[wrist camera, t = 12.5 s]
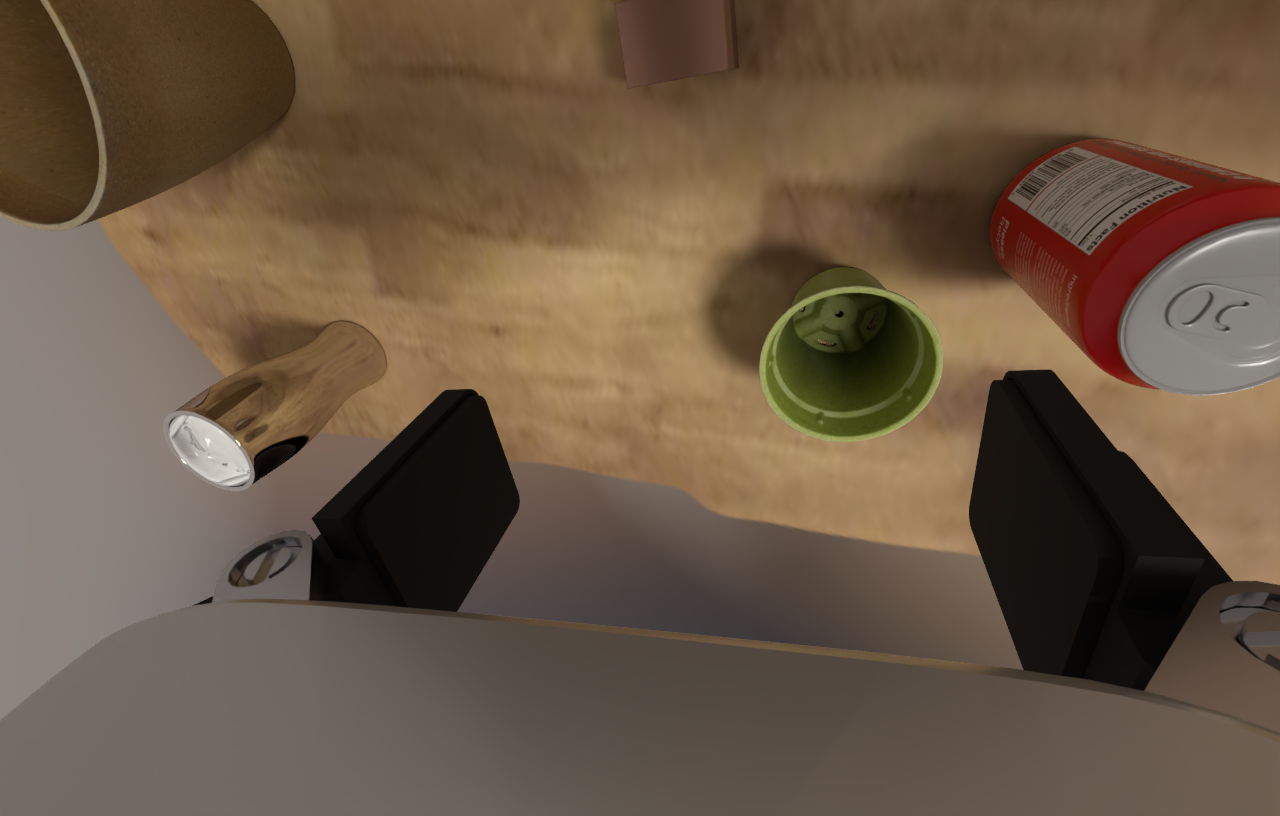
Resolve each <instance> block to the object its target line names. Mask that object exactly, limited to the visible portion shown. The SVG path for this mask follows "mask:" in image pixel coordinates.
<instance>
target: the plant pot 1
mask: <svg viewBox="0 0 1280 816" xmlns="http://www.w3.org/2000/svg"><path fill="white" fill-rule="evenodd" d="M293 94H294V70H293V65H292V61H291V58H290V55H289V52H288V50H287V47H286V45H285V43H284V41H283V39H282V37H281V35H280V33H279V31H278V30H277V28H276V27H275V25H274V24H273V23H272V21H271V20H270V19H269V17H268V16H267V15H266V14H265V13H264V12H263V11H262V10H261V9H260V8H259V7H258V6H256V5H255V4H254V3H253V2H251V1H250V0H0V216H1V217H3V218H5V219H7V220H9V221H12V222H14V223H17V224H19V225H23V226H26V227H29V228H33V229H38V230H44V231H63V230H67V229H71V228H75V227H77V226H80V225H83V224H85V223H88V222H91V221H93V220H96V219H99V218H101V217H104V216H107V215H109V214H112V213H114V212H117V211H119V210H122V209H124V208H127V207H129V206H132V205H134V204H136V203H139V202H141V201H143V200H146V199H148V198H151V197H153V196H155V195H157V194H159V193H161V192H163V191H166V190H168V189H170V188H172V187H174V186H176V185H178V184H180V183H182V182H184V181H186V180H188V179H190V178H192V177H194V176H196V175H198V174H200V173H201V172H203V171H205V170H207V169H208V168H210V167H212V166H214V165H216V164H217V163H219V162H220V161H222V160H224V159H225V158H227V157H229V156H230V155H232V154H233V153H235V152H236V151H238V150H239V149H241V148H242V147H244V146H245V145H247V144H248V143H249V142H251V141H252V140H253V139H255V138H256V137H257V136H259V135H260V134H261V133H263V132H264V131H265V130H266V129H267V128H269V127H270V126H271V125H272V124H273V123H274V122H276V121H277V120H278V119H279V118H280V117H281V116H282V115H283V114H284V113H285V112H286V111H287V110H288V108H289V106H290V104H291V101H292V98H293Z"/></svg>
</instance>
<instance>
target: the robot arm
mask: <svg viewBox="0 0 1280 816" xmlns="http://www.w3.org/2000/svg"><path fill="white" fill-rule="evenodd" d="M519 502H520V500H519V494H518V491H517V488H516V485H515V482H514V479H513V476H512V473H511V471H510V468H509V465H508V462H507V459H506V456H505V454H504V451H503V448H502V445H501V442H500V439H499V437H498V434H497V431H496V428H495V425H494V422H493V419H492V417H491V414H490V411H489V408H488V405H487V403H486V400H485V399H484V398H483V397H482V396H479V395H478V393H477V392H476V391H474V390H472V389H460V390H445V391H444V392H442V393H441V394H440V395H439V396H438V397H437V398H436V399H435V400H434V401H433V402H432V403H431V404H430V405H429V406H428V407H427V408H426V409H425V410H424V411H423V412H422V413H420V414H419V415H418V416H417V417H416V418H415V419H414V420H413V421H412V422H411V423H410V424H409V425H408V426H407V427H406V428H405V429H404V430H403V431H402V432H401V433H400V434H399V435H398V436H397V437H396V438H395V439H394V440H392V441H391V442H390V443H389V445H387V446H386V447H385V448H384V449H383V450H382V451H381V452H380V453H379V454H378V455H377V456H376V457H375V458H374V459H373V460H372V461H371V462H370V463H369V464H368V465H367V466H365V467H364V468H363V469H362V470H361V471H360V472H359V473H358V474H357V475H356V476H355V477H354V478H353V479H352V480H351V481H350V482H349V483H348V484H347V485H346V486H345V487H344V488H343V489H342V490H341V491H340V492H338V494H336V495H335V496H334V498H332V499H331V500H330V501H329V502H328V503H327V504H326V505H325V506H324V507H323V508H322V509H321V510H320V511H319V512H318V513H317V514H316V515H315V516H314V517H313V518H312V520H313V521H314V523H315V524H316V526H317V528H318V529H319V531H320V533H321V534H320V535H319V537H317V538H316V539H315V540H313V539H312V537H311V535H309V534H307V533H306V532H305V531H298V530H292V531H284V532H281V533H278V534H274V535H272V536H269V537H267V538H264V539H262V540H260V541H258V542H256V543H254V544H253V545H251V546H250V547H248V548H246V549H245V550H243V551H242V552H241V553H239V554H238V555H237V556H236V557H235V558H234V559H232V560H231V561H230V562H229V564H228V565H227V566H226V567H225V568H224V569H223V570H222V573H221V575H220V577H219V579H218V581H217V585H216V589H215V592H214V596H213V597H210V598H208V599H206V600H204V601H202V602H200V603H197V604H195V605H193V606H191V607H186V608H183V609H179V610H175V611H171V612H167V613H163V614H160V615H157V616H154V617H151V618H148V619H145V620H143V621H140V622H138V623H135V624H133V625H130V626H128V627H125V628H123V629H121V630H119V631H117V632H115V633H113V634H111V635H110V636H108V637H106V638H105V639H103V640H101V641H100V642H99V643H97V644H96V645H95V646H93V647H92V648H90V649H89V650H87V651H86V652H85V653H83V654H82V655H81V656H80V657H78V658H77V659H76V660H74V661H73V662H72V663H71V664H69V665H68V666H67V667H66V668H64V669H63V670H62V671H60V672H59V673H58V674H56V675H55V676H54V677H53V678H51V679H50V680H49V681H47V682H46V683H45V684H44V685H42V686H41V687H40V688H39V689H37V690H36V691H35V692H34V693H32V694H31V695H30V696H29V697H28V698H26V699H25V700H24V701H23V702H21V703H20V704H19V705H18V706H17V707H15V708H14V709H13V710H12V711H10V712H9V713H8V714H7V715H6V716H4V717H3V718H2V719H1V720H0V816H1280V585H1276V584H1270V583H1265V582H1259V581H1233V580H1232V579H1231V578H1230V577H1229V575H1228V574H1227V573H1226V572H1225V571H1224V569H1223V568H1222V567H1221V566H1220V565H1219V563H1218V562H1217V561H1216V560H1215V559H1214V557H1213V556H1212V555H1211V554H1210V553H1209V551H1208V550H1207V549H1206V548H1205V546H1204V545H1203V544H1202V543H1201V542H1200V540H1199V539H1198V538H1197V537H1196V536H1195V534H1194V533H1193V532H1192V531H1191V530H1190V528H1189V527H1188V526H1187V525H1186V524H1185V522H1184V521H1183V520H1182V519H1181V518H1180V516H1179V515H1178V514H1177V513H1176V512H1175V510H1174V509H1173V508H1172V507H1171V505H1170V504H1169V503H1168V502H1167V501H1166V499H1165V498H1164V497H1163V496H1162V495H1161V493H1160V492H1159V491H1158V490H1157V489H1156V487H1155V486H1154V485H1153V484H1152V483H1151V481H1150V480H1149V479H1148V478H1147V477H1146V475H1145V474H1144V473H1143V472H1142V471H1141V469H1140V468H1139V467H1138V466H1137V464H1136V463H1135V462H1134V461H1133V460H1132V459H1131V458H1130V457H1129V456H1128V455H1127V454H1126V453H1124V452H1121V451H1118V450H1117V449H1116V448H1115V447H1114V446H1113V444H1112V443H1111V442H1110V441H1109V439H1108V438H1107V437H1106V436H1105V434H1104V433H1103V432H1102V431H1101V429H1100V428H1099V427H1098V426H1097V425H1096V423H1095V422H1094V421H1093V420H1092V418H1091V417H1090V416H1089V415H1088V413H1087V412H1086V411H1085V410H1084V409H1083V407H1082V406H1081V405H1080V404H1079V402H1078V401H1077V400H1076V399H1075V397H1074V396H1073V395H1072V394H1071V392H1070V391H1069V390H1068V389H1067V388H1066V386H1065V385H1064V384H1063V383H1062V381H1061V380H1060V379H1059V378H1058V376H1057V375H1056V374H1055V373H1054V372H1053V371H1052V370H1023V371H1008V372H1007V373H1006V374H1005V376H1004V378H1003V380H994V381H993V382H992V384H991V386H990V390H989V396H988V402H987V407H986V413H985V419H984V425H983V430H982V436H981V442H980V448H979V454H978V459H977V465H976V471H975V477H974V482H973V488H972V494H971V500H970V506H969V520H970V526H971V529H972V532H973V534H974V537H975V540H976V543H977V545H978V548H979V551H980V553H981V556H982V559H983V561H984V564H985V567H986V569H987V572H988V575H989V578H990V580H991V583H992V586H993V588H994V591H995V594H996V597H997V599H998V602H999V604H1000V607H1001V610H1002V613H1003V615H1004V618H1005V621H1006V624H1007V626H1008V629H1009V632H1010V634H1011V637H1012V639H1013V642H1014V645H1015V648H1016V651H1017V653H1018V656H1019V659H1020V661H1021V664H1022V667H1023V669H1024V670H1018V669H1012V668H1003V667H994V666H985V665H977V664H970V663H961V662H952V661H944V660H935V659H925V658H916V657H908V656H900V655H891V654H882V653H874V652H864V651H854V650H844V649H834V648H824V647H814V646H805V645H795V644H785V643H784V644H783V643H775V642H765V641H755V640H745V639H735V638H726V637H715V636H706V635H696V634H685V633H675V632H665V631H654V630H644V629H634V628H624V627H613V626H603V625H592V624H581V623H571V622H561V621H550V620H540V619H529V618H518V617H508V616H495V615H485V614H474V613H463V612H457V611H458V609H459V607H460V606H461V604H462V602H463V601H464V599H465V597H466V596H467V594H468V593H469V591H470V589H471V587H472V586H473V584H474V583H475V581H476V579H477V578H478V576H479V574H480V573H481V571H482V569H483V568H484V566H485V564H486V563H487V561H488V559H489V558H490V556H491V554H492V553H493V551H494V549H495V548H496V546H497V545H498V543H499V541H500V540H501V538H502V536H503V535H504V533H505V531H506V530H507V528H508V526H509V525H510V523H511V521H512V520H513V518H514V517H515V515H516V513H517V511H518V508H519Z"/></svg>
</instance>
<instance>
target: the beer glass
mask: <svg viewBox="0 0 1280 816" xmlns="http://www.w3.org/2000/svg"><path fill="white" fill-rule="evenodd" d="M386 367H387V362H386V357H385V354H384V351H383V349H382V347H381V345H380V344H379V342H378V341H377V340H376V339H375V338H374V336H373V335H372V334H370V333H369V332H368V331H367V330H365V329H364V328H362V327H361V326H359V325H357V324H354V323H351V322H346V321H338V322H334V323H332V324H330V325H329V326H327V327H326V328H325V329H324V330H323V331H322V332H321V333H320V334H319V335H318V336H317V337H316V338H315V339H313V340H312V341H311V342H310V343H308V344H306V345H305V346H303V347H301V348H299V349H296V350H294V351H291V352H288V353H286V354H283V355H280V356H277V357H274V358H271V359H268V360H265V361H262V362H259V363H257V364H254V365H252V366H249V367H247V368H245V369H242V370H240V371H238V372H236V373H234V374H232V375H230V376H228V377H226V378H224V379H223V380H221V381H219V382H218V383H216V384H215V385H213V386H211V387H210V388H208V389H206V390H205V391H203V392H202V393H200V394H199V395H198V396H196V397H194V398H193V399H192V400H190V401H189V402H187V403H186V404H185V405H183V406H182V407H180V408H179V409H177V410H176V411H174V412H172V413H170V414H169V415H168V416H167V417H166V418H165V420H164V423H163V433H164V437H165V439H166V442H167V444H168V446H169V448H170V449H171V451H172V452H173V454H174V455H175V456H176V458H177V459H178V460H179V461H180V462H181V463H182V464H183V465H184V466H185V467H186V468H187V469H188V470H189V471H190V472H192V473H193V474H194V475H196V476H197V477H198V478H200V479H202V480H203V481H205V482H207V483H208V484H210V485H213V486H215V487H217V488H220V489H223V490H228V491H242V490H246V489H248V488H249V487H250V486H251V485H253V484H254V483H255V482H257V481H258V480H260V479H261V478H263V477H264V476H266V475H267V474H269V473H270V472H272V471H273V470H275V469H276V468H278V467H279V466H281V465H282V464H283V463H285V462H286V461H287V460H289V459H290V458H291V457H293V456H294V455H295V454H297V453H298V452H299V451H300V450H301V449H302V448H304V447H305V446H306V445H307V444H308V443H309V442H310V441H311V440H312V439H313V438H314V437H315V436H316V435H317V434H318V433H319V432H320V431H321V430H322V429H323V427H324V426H325V425H326V424H327V423H328V421H329V420H330V419H331V418H332V417H333V415H334V414H335V413H336V412H337V410H338V409H339V408H340V407H341V406H342V405H343V403H344V402H345V401H346V400H347V399H348V398H350V397H351V396H352V395H353V394H355V393H356V392H358V391H360V390H362V389H364V388H366V387H368V386H370V385H372V384H374V383H376V382H378V381H379V380H380V379H381V378H382V377H383V376H384V374H385V372H386Z"/></svg>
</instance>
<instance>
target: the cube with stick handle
mask: <svg viewBox="0 0 1280 816" xmlns="http://www.w3.org/2000/svg"><path fill="white" fill-rule="evenodd" d="M615 9H616V15H617V22H618V28H619V35H620V42H621V48H622V55H623V61H624V68H625V74H626V81H627V88H628V89H629V88H635V87H640V86H645V85H651V84H656V83H661V82H666V81H672V80H677V79H682V78H688V77H693V76H698V75H703V74H709V73H714V72H719V71H725V70H730V69H734V68H738V67H739V65H738V50H737V34H736V18H735V3H734V0H628V1H624V2H620V3H616V4H615Z"/></svg>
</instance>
